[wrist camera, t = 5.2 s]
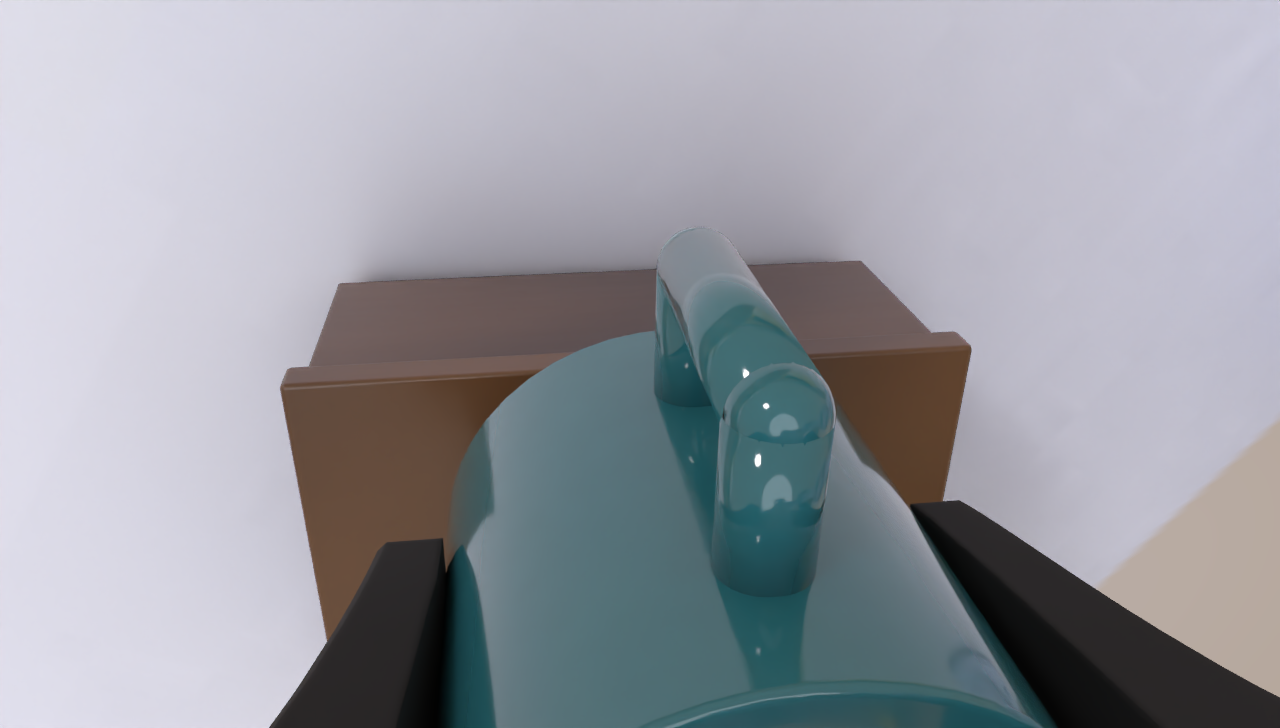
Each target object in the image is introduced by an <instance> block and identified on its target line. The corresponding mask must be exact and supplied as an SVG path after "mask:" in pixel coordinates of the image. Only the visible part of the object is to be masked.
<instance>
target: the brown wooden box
mask: <svg viewBox="0 0 1280 728" xmlns="http://www.w3.org/2000/svg"><path fill="white" fill-rule="evenodd" d="M747 266H748V268H749V269H750V270H751V272H752V273H753V275H754V276H755V278H756V279H757V281H758V282H759V284H760V285H761V287H762V288H763V290H764V291H765V293H766V294H767V296H768V297H769V299H770V300H771V302H772V303H773V304H774V306H775V307H776V309H777V310H778V312H779V313H780V315H781V316H782V318H783V319H784V321H785V322H786V324H787V325H788V327H789V328H790V330H791V331H792V333H793V334H794V335H795V337H796V338H797V340H798V341H799V343H800V344H801V346H802V347H803V349H804V350H805V352H806V353H807V355H808V356H809V358H810V359H811V361H812V362H813V364H814V365H815V366H816V368H817V369H818V371H819V372H820V374H821V375H822V377H823V378H824V380H825V381H826V383H827V384H828V386H829V388H830V391H831V393H832V395H833V396H834V397H835V398H836V399H837V401H838V402H839V403H840V405H841V406H842V408H843V409H844V411H845V412H846V414H847V415H848V417H849V418H850V420H851V421H852V423H853V424H854V426H855V427H856V429H857V430H858V432H859V433H860V435H861V436H862V438H863V439H864V441H865V442H866V443H867V445H868V446H869V448H870V449H871V451H872V452H873V454H874V455H875V457H876V458H877V460H878V461H879V463H880V464H881V466H882V467H883V469H884V470H885V472H886V473H887V475H888V476H889V478H890V479H891V480H892V482H893V483H894V485H895V486H896V488H897V489H898V491H899V492H900V494H901V495H902V497H903V498H904V500H905V501H906V503H907V504H908V506H909V507H910V504H916V503H930V502H943V497H944V492H945V486H946V481H947V476H948V471H949V465H950V460H951V455H952V450H953V445H954V439H955V434H956V429H957V424H958V418H959V413H960V408H961V403H962V397H963V392H964V387H965V382H966V376H967V371H968V366H969V361H970V355H971V346H970V345H969V344H968V343H967V342H966V341H965V340H964V339H963V338H962V337H961V336H960V335H959V334H958V333H956V332H937V333H931V332H930V331H929V330H928V329H927V328H926V327H925V326H924V325H923V323H922V322H921V321H920V320H919V319H918V318H917V317H916V316H915V315H914V314H913V313H912V312H911V311H910V310H909V309H908V308H907V307H906V306H905V305H904V304H903V303H902V302H901V301H900V300H899V299H898V298H897V297H896V296H895V295H894V294H893V293H892V292H891V291H890V290H889V289H888V288H887V287H886V286H885V285H884V284H883V283H882V282H881V281H880V280H879V279H878V278H877V277H876V276H875V275H874V274H873V273H872V272H871V271H870V270H869V269H868V268H867V267H866V266H865V265H864V264H863V263H862V261H844V262H816V263H792V264H769V265H747ZM656 280H657V269H654V270H631V271H608V272H585V273H562V274H539V275H516V276H493V277H470V278H447V279H424V280H401V281H378V282H361V283H340V284H339V285H338V288H337V290H336V293H335V296H334V299H333V301H332V304H331V307H330V310H329V312H328V315H327V318H326V321H325V323H324V326H323V329H322V332H321V334H320V337H319V340H318V343H317V345H316V348H315V351H314V354H313V356H312V359H311V362H310V365H309V367H296V368H290V369H287V371H286V374H285V376H284V379H283V381H282V384H281V387H280V391H281V396H282V402H283V407H284V412H285V418H286V423H287V429H288V434H289V439H290V445H291V450H292V455H293V461H294V466H295V472H296V477H297V482H298V488H299V493H300V498H301V504H302V509H303V514H304V520H305V525H306V531H307V536H308V541H309V547H310V552H311V557H312V563H313V568H314V574H315V579H316V584H317V590H318V595H319V600H320V606H321V611H322V616H323V622H324V627H325V633H326V638H327V641H328V640H329V638H330V637H331V635H332V634H333V632H334V630H335V629H336V627H337V625H338V624H339V622H340V620H341V618H342V617H343V615H344V613H345V612H346V610H347V608H348V606H349V605H350V603H351V601H352V599H353V598H354V596H355V594H356V592H357V590H358V589H359V587H360V585H361V583H362V581H363V579H364V577H365V575H366V573H367V571H368V569H369V567H370V565H371V563H372V561H373V559H374V557H375V555H376V553H377V551H378V550H379V549H380V548H381V547H382V546H383V545H384V544H385V543H386V542H397V541H411V540H424V539H438V538H443V545H444V556H445V563H446V546H447V529H448V513H449V506H450V499H451V493H452V488H453V484H454V481H455V478H456V475H457V472H458V469H459V466H460V463H461V461H462V459H463V457H464V455H465V453H466V451H467V449H468V447H469V445H470V443H471V441H472V440H473V438H474V437H475V435H476V434H477V433H478V431H479V430H480V428H481V427H482V425H483V424H484V422H485V421H486V419H487V418H488V417H489V416H490V415H491V414H492V413H493V412H494V411H495V409H496V408H497V407H498V406H499V405H500V404H501V403H502V402H503V401H504V400H505V399H506V398H507V397H508V396H509V395H510V394H511V393H513V392H514V391H515V390H516V389H517V388H518V387H520V386H521V385H522V384H523V383H524V382H526V381H527V380H528V379H529V378H531V377H532V376H534V375H535V374H537V373H538V372H540V371H541V370H543V369H544V368H546V367H547V366H549V365H551V364H552V363H554V362H556V361H558V360H560V359H562V358H564V357H566V356H568V355H570V354H572V353H574V352H576V351H578V350H580V349H583V348H585V347H588V346H591V345H594V344H597V343H600V342H602V341H605V340H608V339H612V338H616V337H621V336H625V335H630V334H634V333H639V332H648V331H655V315H656Z"/></svg>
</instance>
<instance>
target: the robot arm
mask: <svg viewBox="0 0 1280 728" xmlns="http://www.w3.org/2000/svg"><path fill="white" fill-rule="evenodd" d="M910 509H911V510H912V512H913V513H914V515H915V516H916V518H917V519H918V520H919V522H920V523H921V525H922V526H923V528H924V529H925V531H926V532H927V534H928V535H929V537H930V538H931V540H932V541H933V543H934V544H935V546H936V547H937V549H938V550H939V552H940V553H941V555H942V556H943V558H944V559H945V560H946V562H947V563H948V565H949V566H950V568H951V569H952V571H953V572H954V574H955V575H956V577H957V578H958V580H959V581H960V583H961V584H962V586H963V587H964V589H965V590H966V592H967V593H968V595H969V596H970V598H971V599H972V600H973V602H974V603H975V605H976V606H977V608H978V609H979V611H980V612H981V614H982V615H983V617H984V618H985V620H986V621H987V623H988V624H989V626H990V627H991V629H992V630H993V632H994V633H995V635H996V636H997V637H998V639H999V640H1000V642H1001V643H1002V645H1003V646H1004V648H1005V649H1006V651H1007V652H1008V654H1009V655H1010V657H1011V658H1012V660H1013V661H1014V663H1015V664H1016V666H1017V667H1018V669H1019V670H1020V672H1021V673H1022V675H1023V676H1024V677H1025V679H1026V680H1027V682H1028V683H1029V685H1030V686H1031V688H1032V689H1033V691H1034V692H1035V694H1036V695H1037V697H1038V698H1039V700H1040V701H1041V703H1042V704H1043V706H1044V707H1045V709H1046V710H1047V712H1048V713H1049V715H1050V716H1051V717H1052V719H1053V720H1054V722H1055V723H1056V725H1057V726H1058V728H1280V697H1278V696H1276V695H1274V694H1272V693H1270V692H1267V691H1266V690H1264V689H1262V688H1260V687H1258V686H1256V685H1254V684H1252V683H1251V682H1249V681H1247V680H1245V679H1243V678H1242V677H1240V676H1238V675H1236V674H1234V673H1233V672H1231V671H1229V670H1227V669H1225V668H1224V667H1222V666H1220V665H1218V664H1217V663H1215V662H1213V661H1212V660H1210V659H1208V658H1206V657H1204V656H1203V655H1201V654H1200V653H1198V652H1196V651H1195V650H1193V649H1191V648H1190V647H1188V646H1186V645H1184V644H1183V643H1181V642H1179V641H1178V640H1176V639H1174V638H1172V637H1171V636H1169V635H1168V634H1166V633H1164V632H1162V631H1161V630H1159V629H1157V628H1156V627H1154V626H1153V625H1151V624H1150V623H1148V622H1146V621H1145V620H1143V619H1142V618H1140V617H1138V616H1137V615H1135V614H1133V613H1132V612H1130V611H1129V610H1127V609H1125V608H1124V607H1122V606H1121V605H1119V604H1118V603H1116V602H1115V601H1113V600H1111V599H1110V598H1108V597H1107V596H1105V595H1104V594H1102V593H1101V592H1099V591H1098V590H1096V589H1095V588H1093V587H1092V586H1090V585H1088V584H1087V583H1085V582H1084V581H1082V580H1081V579H1079V578H1078V577H1076V576H1075V575H1073V574H1072V573H1070V572H1069V571H1067V570H1066V569H1064V568H1063V567H1061V566H1060V565H1058V564H1057V563H1055V562H1054V561H1052V560H1051V559H1049V558H1048V557H1046V556H1045V555H1043V554H1042V553H1040V552H1039V551H1037V550H1036V549H1034V548H1033V547H1031V546H1030V545H1029V544H1027V543H1026V542H1024V541H1023V540H1021V539H1020V538H1018V537H1017V536H1015V535H1014V534H1012V533H1011V532H1009V531H1008V530H1006V529H1005V528H1003V527H1001V526H1000V525H998V524H997V523H995V522H994V521H992V520H991V519H989V518H988V517H986V516H985V515H983V514H981V513H980V512H978V511H977V510H975V509H973V508H972V507H970V506H968V505H966V504H965V503H963V502H961V501H959V500H957V501H943V502H930V503H916V504H910ZM445 583H446V566H445V556H444V545H443V538H438V539H424V540H411V541H397V542H386V543H385V544H384V545H383V546H382V547H381V548H380V549H379V550H378V551H377V553H376V555H375V557H374V559H373V561H372V563H371V565H370V567H369V569H368V571H367V573H366V575H365V577H364V579H363V581H362V583H361V585H360V587H359V589H358V590H357V592H356V594H355V596H354V598H353V599H352V601H351V603H350V605H349V606H348V608H347V610H346V612H345V613H344V615H343V617H342V618H341V620H340V622H339V624H338V625H337V627H336V629H335V630H334V632H333V634H332V635H331V637H330V638H329V640H328V641H327V643H326V645H325V646H324V648H323V649H322V651H321V652H320V654H319V656H318V657H317V659H316V660H315V662H314V663H313V665H312V667H311V668H310V670H309V671H308V673H307V674H306V676H305V677H304V679H303V681H302V682H301V684H300V685H299V687H298V688H297V690H296V691H295V693H294V694H293V695H292V697H291V698H290V700H289V701H288V702H287V704H286V705H285V707H284V708H283V709H282V711H281V712H280V714H279V715H278V716H277V718H276V719H275V720H274V722H273V723H272V725H271V726H270V727H269V728H436V715H437V698H438V681H439V668H440V657H441V647H442V635H443V617H444V600H445Z"/></svg>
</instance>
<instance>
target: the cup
mask: <svg viewBox="0 0 1280 728" xmlns="http://www.w3.org/2000/svg"><path fill="white" fill-rule="evenodd" d="M445 566H446V583H445V600H444V617H443V635H442V647H441V657H440V668H439V681H438V698H437V715H436V728H1058V726H1057V725H1056V723H1055V722H1054V720H1053V719H1052V717H1051V716H1050V715H1049V713H1048V712H1047V710H1046V709H1045V707H1044V706H1043V704H1042V703H1041V701H1040V700H1039V698H1038V697H1037V695H1036V694H1035V692H1034V691H1033V689H1032V688H1031V686H1030V685H1029V683H1028V682H1027V680H1026V679H1025V677H1024V676H1023V675H1022V673H1021V672H1020V670H1019V669H1018V667H1017V666H1016V664H1015V663H1014V661H1013V660H1012V658H1011V657H1010V655H1009V654H1008V652H1007V651H1006V649H1005V648H1004V646H1003V645H1002V643H1001V642H1000V640H999V639H998V637H997V636H996V635H995V633H994V632H993V630H992V629H991V627H990V626H989V624H988V623H987V621H986V620H985V618H984V617H983V615H982V614H981V612H980V611H979V609H978V608H977V606H976V605H975V603H974V602H973V600H972V599H971V598H970V596H969V595H968V593H967V592H966V590H965V589H964V587H963V586H962V584H961V583H960V581H959V580H958V578H957V577H956V575H955V574H954V572H953V571H952V569H951V568H950V566H949V565H948V563H947V562H946V560H945V559H944V558H943V556H942V555H941V553H940V552H939V550H938V549H937V547H936V546H935V544H934V543H933V541H932V540H931V538H930V537H929V535H928V534H927V532H926V531H925V529H924V528H923V526H922V525H921V523H920V522H919V520H918V519H917V518H916V516H915V515H914V513H913V512H912V510H911V509H910V507H909V506H908V504H907V503H906V501H905V500H904V498H903V497H902V495H901V494H900V492H899V491H898V489H897V488H896V486H895V485H894V483H893V482H892V480H891V479H890V478H889V476H888V475H887V473H886V472H885V470H884V469H883V467H882V466H881V464H880V463H879V461H878V460H877V458H876V457H875V455H874V454H873V452H872V451H871V449H870V448H869V446H868V445H867V443H866V442H865V441H864V439H863V438H862V436H861V435H860V433H859V432H858V430H857V429H856V427H855V426H854V424H853V423H852V421H851V420H850V418H849V417H848V415H847V414H846V412H845V411H844V409H843V408H842V406H841V405H840V403H839V402H838V401H837V399H836V398H835V397H834V396H833V395H832V393H831V391H830V388H829V386H828V384H827V383H826V381H825V380H824V378H823V377H822V375H821V374H820V372H819V371H818V369H817V368H816V366H815V365H814V364H813V362H812V361H811V359H810V358H809V356H808V355H807V353H806V352H805V350H804V349H803V347H802V346H801V344H800V343H799V341H798V340H797V338H796V337H795V335H794V334H793V333H792V331H791V330H790V328H789V327H788V325H787V324H786V322H785V321H784V319H783V318H782V316H781V315H780V313H779V312H778V310H777V309H776V307H775V306H774V304H773V303H772V302H771V300H770V299H769V297H768V296H767V294H766V293H765V291H764V290H763V288H762V287H761V285H760V284H759V282H758V281H757V279H756V278H755V276H754V275H753V273H752V272H751V270H750V269H749V268H748V266H747V265H746V263H745V262H744V260H743V259H742V257H741V256H740V254H739V253H738V251H737V250H736V248H735V247H734V245H733V244H732V243H731V241H730V240H729V239H728V238H727V237H725V236H724V235H723V234H722V233H720V232H718V231H716V230H714V229H711V228H708V227H690V228H687V229H684V230H681V231H679V232H677V233H676V234H674V235H673V236H672V237H671V238H670V239H669V240H668V241H667V242H666V243H665V245H664V246H663V248H662V249H661V252H660V255H659V258H658V262H657V280H656V315H655V331H648V332H639V333H634V334H630V335H625V336H621V337H616V338H612V339H608V340H605V341H602V342H600V343H597V344H594V345H591V346H588V347H585V348H583V349H580V350H578V351H576V352H574V353H572V354H570V355H568V356H566V357H564V358H562V359H560V360H558V361H556V362H554V363H552V364H551V365H549V366H547V367H546V368H544V369H543V370H541V371H540V372H538V373H537V374H535V375H534V376H532V377H531V378H529V379H528V380H527V381H526V382H524V383H523V384H522V385H521V386H520V387H518V388H517V389H516V390H515V391H514V392H513V393H511V394H510V395H509V396H508V397H507V398H506V399H505V400H504V401H503V402H502V403H501V404H500V405H499V406H498V407H497V408H496V409H495V411H494V412H493V413H492V414H491V415H490V416H489V417H488V418H487V419H486V421H485V422H484V424H483V425H482V427H481V428H480V430H479V431H478V433H477V434H476V435H475V437H474V438H473V440H472V441H471V443H470V445H469V447H468V449H467V451H466V453H465V455H464V457H463V459H462V461H461V463H460V466H459V469H458V472H457V475H456V478H455V481H454V484H453V488H452V493H451V499H450V506H449V513H448V529H447V546H446V563H445Z"/></svg>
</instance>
